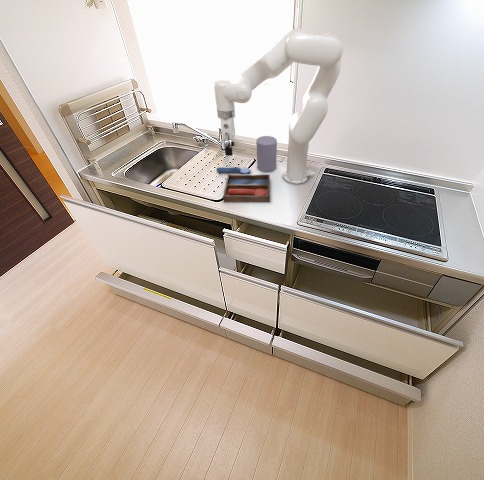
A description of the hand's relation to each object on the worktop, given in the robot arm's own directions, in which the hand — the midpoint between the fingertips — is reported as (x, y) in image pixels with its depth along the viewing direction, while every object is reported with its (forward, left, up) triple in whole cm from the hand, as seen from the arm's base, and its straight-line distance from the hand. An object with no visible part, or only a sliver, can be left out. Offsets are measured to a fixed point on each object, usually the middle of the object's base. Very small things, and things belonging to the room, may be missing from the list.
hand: (229, 150), depth 124 cm
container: (-18, -10, -15) cm, 25 cm away
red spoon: (-8, +17, -14) cm, 23 cm away
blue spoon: (0, -4, -15) cm, 15 cm away
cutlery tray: (-9, +12, -15) cm, 21 cm away
